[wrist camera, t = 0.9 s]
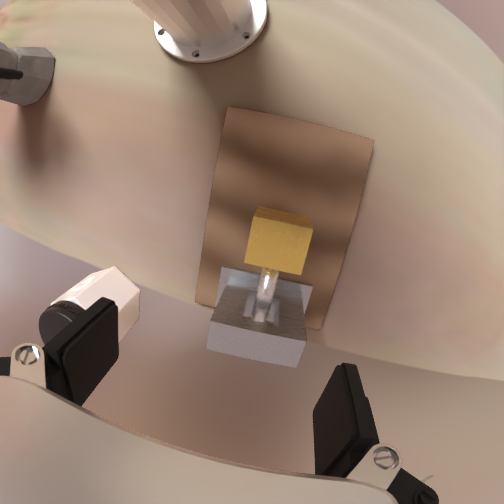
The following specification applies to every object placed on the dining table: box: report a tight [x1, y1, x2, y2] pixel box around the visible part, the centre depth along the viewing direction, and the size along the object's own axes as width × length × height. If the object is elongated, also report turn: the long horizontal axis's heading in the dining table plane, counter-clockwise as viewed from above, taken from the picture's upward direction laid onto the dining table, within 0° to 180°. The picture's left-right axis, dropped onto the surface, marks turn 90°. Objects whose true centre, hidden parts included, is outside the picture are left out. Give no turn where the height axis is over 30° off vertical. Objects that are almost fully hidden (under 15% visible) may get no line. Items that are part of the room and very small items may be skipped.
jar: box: [39, 266, 140, 344], centre depth 31 cm, size 9×8×12 cm
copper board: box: [195, 107, 374, 330], centre depth 31 cm, size 22×15×1 cm
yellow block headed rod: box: [244, 206, 313, 323], centre depth 27 cm, size 14×5×5 cm, turn 169°
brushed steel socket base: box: [206, 265, 313, 368], centre depth 28 cm, size 5×10×10 cm, turn 79°
